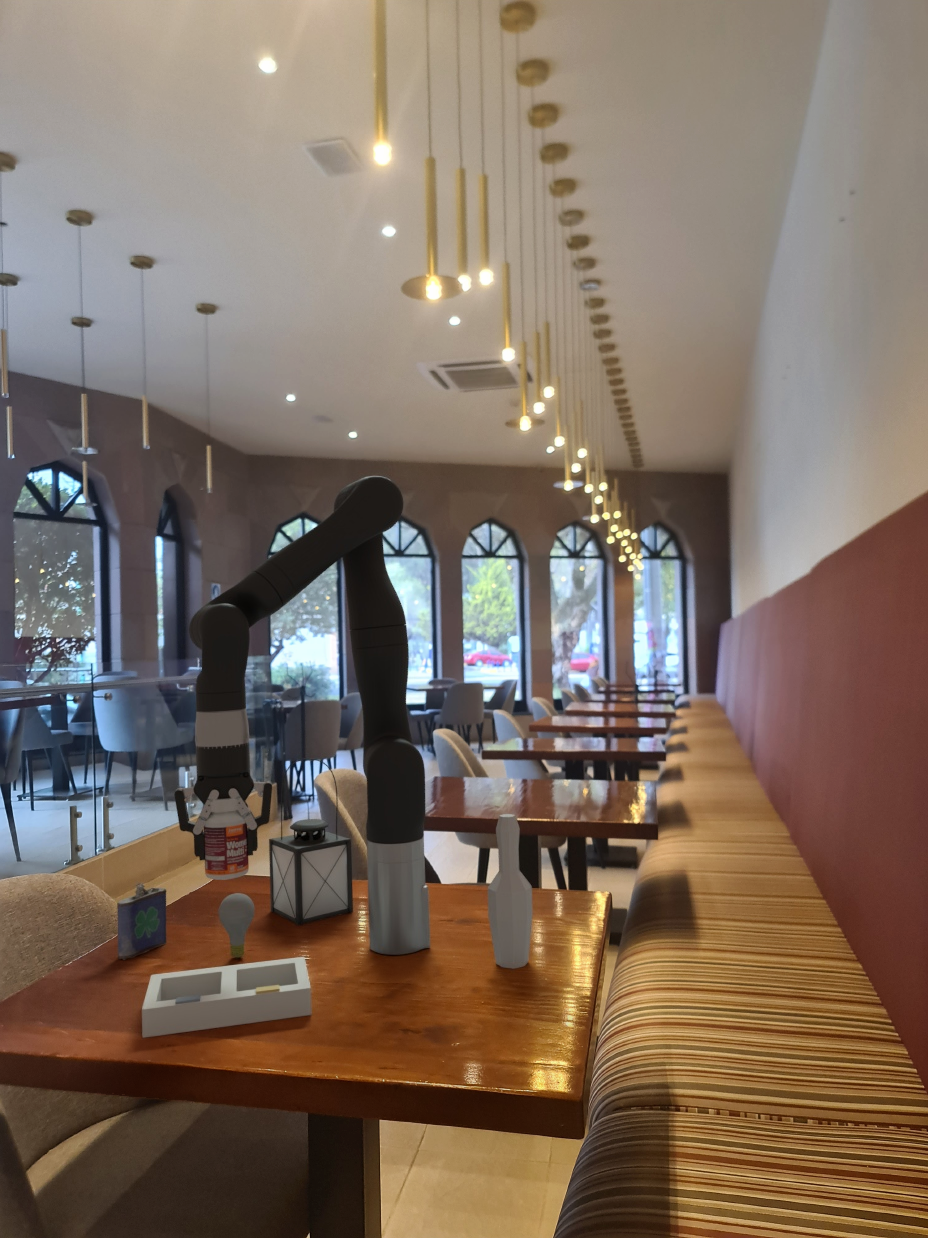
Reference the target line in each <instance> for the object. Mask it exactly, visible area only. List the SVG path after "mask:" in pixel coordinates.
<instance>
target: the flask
mask: <svg viewBox="0 0 928 1238" xmlns="http://www.w3.org/2000/svg"><path fill="white" fill-rule="evenodd" d="M135 887H136V889H135V891H134V892H135V895H134V894H133V895H132V896H129V897H126V898H124V899H122V900H119V901H118V902H117V903H116V905H117V906H116V907H117V958H118V959H119V960H123V961H125V960H127V959H133V958H135V957H136V956H139V955H142V954H145V953H148V952H149V951H150V950H154V949H155V948H158V947H159V948H160V947H161V946H164V945H166V944H167V889H166V888H162V887H154V886H153V887H151V888H148V889H147V888H145V887H146V886H145V884H144V883H141V882H138V883H136V884H135V885H133V888H135Z"/></svg>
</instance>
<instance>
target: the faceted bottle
mask: <svg viewBox="0 0 928 1238" xmlns="http://www.w3.org/2000/svg"><path fill="white" fill-rule="evenodd" d="M496 823H497V825H496V827H495V835H496V840H497V841H496V843H497V850H498V851H497V852H498V872H497V873H496V875H495V876H494V878H492V881H491V882H490V883H489V885H488V886H487V909H488V913H487V914H488V915H487V917H488V922H489V928H490V935H491V942H492V947H493V953H494V954H493V956H494V958H495V959H494V961H495V964H496V965H498V966H499V967H501V968H507V969H513V970H514V969H518V968H523V967H525V966H526V965H527V964H528V963H529V957H530V948H531V947H530V946H531V937H532V936H531V935H532V927H533V926H532V925H533V887H532V885H531V883H530V882H529V881H528V879H527V878H526V877H525V876H524V874H523V873H522V872H521V870H520V854H519V845H520V831H521V829H520V825H519V823H518V820H517V817H516V815H515V814H511V813H503V814H500V815H498V820H497V822H496Z"/></svg>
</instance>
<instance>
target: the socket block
mask: <svg viewBox="0 0 928 1238" xmlns="http://www.w3.org/2000/svg"><path fill="white" fill-rule="evenodd" d="M307 967H308V966H307V963H306V958H305V956H299V957H291V958H281V959H275V960H274V959H273V960H265V961H257V962H256V961H255V962H250V963H249V962H248V963H239V964H233V965H223V966H216V967H215V966H214V967H207V968H197V969H189V970H181V971H172V972H166V973H157V974H156V973H155V974H150V979H149V983H148V986H147V990H146V993H145V996H144V997H145V998H144V1000H143V1003H142V1009H141V1025H142V1026H141V1027H142V1029H141V1032H142V1033H141V1034H142V1038H144V1039H145V1038H151V1037H158V1036H165V1035H172V1034H174V1035H175V1034H179V1033H186V1032H187V1033H188V1032H194V1031H201V1030H210V1029H215V1028H217V1029H219V1028H225V1027H231V1026H238V1025H245V1024H254V1023H260V1022H261V1023H262V1022H267V1021H269V1022H271V1021H277V1020H284V1019H290V1018H291V1019H292V1018H297V1017H305V1016H312V987H311V983H310V978H309V972H308V968H307Z"/></svg>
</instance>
